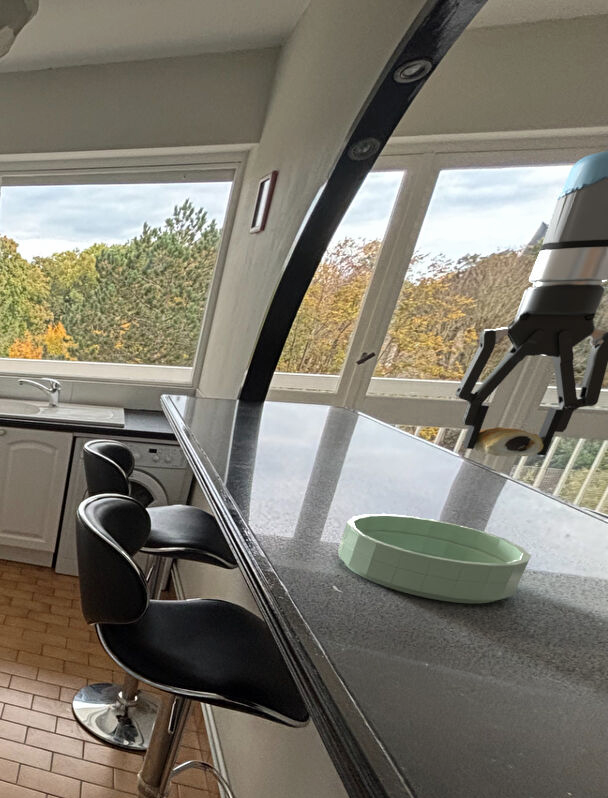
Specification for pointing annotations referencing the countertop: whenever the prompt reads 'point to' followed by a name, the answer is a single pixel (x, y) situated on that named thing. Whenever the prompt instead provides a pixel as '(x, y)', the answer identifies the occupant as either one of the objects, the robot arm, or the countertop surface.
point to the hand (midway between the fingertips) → (502, 450)
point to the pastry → (508, 442)
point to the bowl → (432, 558)
